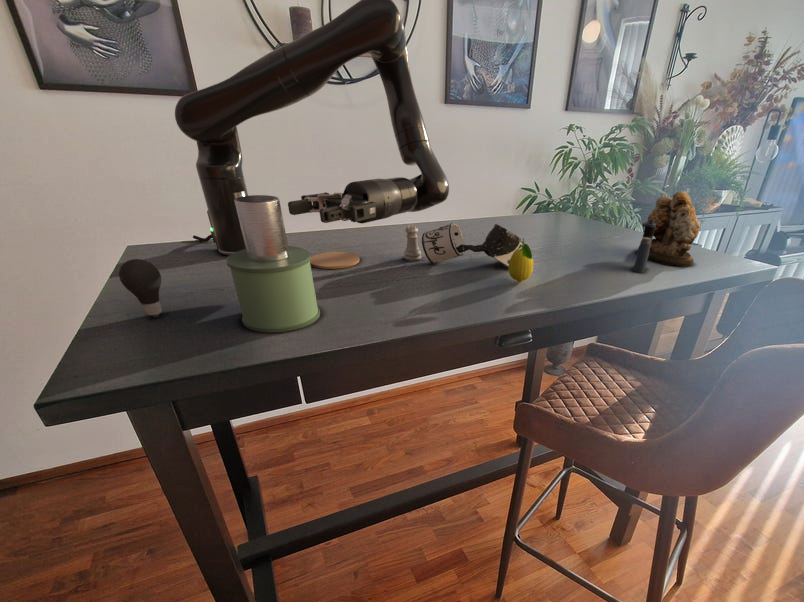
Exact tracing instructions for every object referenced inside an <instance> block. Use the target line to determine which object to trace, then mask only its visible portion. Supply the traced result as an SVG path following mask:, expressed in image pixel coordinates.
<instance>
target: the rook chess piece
mask: <svg viewBox="0 0 804 602" xmlns="http://www.w3.org/2000/svg"><path fill="white" fill-rule="evenodd" d="M404 232H406V236H405V237H406V248H405V250H404V251H403V254H404V255H403V258H404V259H405V260H406V261H409V262H417V261H420V260H421V259H422V251H421V250H420V247H419V244H418V232H419V229H418V226H417V225H416V224H407V225H406V228H405V229H404Z"/></svg>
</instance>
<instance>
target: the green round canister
mask: <svg viewBox="0 0 804 602" xmlns="http://www.w3.org/2000/svg"><path fill="white" fill-rule="evenodd" d="M288 248H289V253H290V256H289V257H288V258H285V259H283V260H279V261H273V262H257V261H252V260H250V259H249V258H248V254H247V250H246V249H244V250H240V251H237V252H235V253H233V254H231V255H229V256H228V255H227V257H226V259H225V263H226V266H227V267H228V268H229V270H230V273H231V276H232V280H233V284H234V288H235V292H236V296H237V299H238V303H239V307H240V310H241V314H242V316H241V321H242V324H243V326H244V327H245V328H247V329H249V330H251V331H254V332H259V333H268V334H269V333H286V332H291V331H295V330H300V329H303V328H306V327H308V326H310V325H312V324H313V323H315V322H316V321H318V320H319V318H320V316H321V309H320V307H319V306H318V302H317V295H316V291H315V286H314V284H315V283H314V278H313V274H312V273H313V272H312V271H313V270H312V266H311V265H310V260H311V256H312V255H311V252H310V251H309V250H308V249H306V248H302V247H298V246H292V245H288Z"/></svg>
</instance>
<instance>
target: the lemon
mask: <svg viewBox="0 0 804 602" xmlns="http://www.w3.org/2000/svg"><path fill="white" fill-rule="evenodd" d="M522 242H523V244H522V245H520V246H519V248H518V249H517V250H516V251H515V252H514V253H513V255H512V256H511V259H510V262H509V267H508V273H509V276H510V278H511V279H513V280H514V281H516V282H517V283H519V284H521V283H522V282H523V281H526V280H528V279H529V278H530V277H531V275H532V274H533V270H534V259H533V254H532V250H531V248H530V246H529V245H528V244H527V243H525V238H524V237H523V238H522ZM524 243H525V244H524ZM523 245H524V246H523ZM521 247H522V248H521ZM520 248H521V249H520ZM519 249H520V250H519Z"/></svg>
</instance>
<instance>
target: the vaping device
mask: <svg viewBox="0 0 804 602" xmlns="http://www.w3.org/2000/svg"><path fill="white" fill-rule="evenodd" d="M655 226H656V224H655V223H654V220H653V219H650V220H649V223H646V225H645V227H644V230H643V234H642V238H641V241H640V243H639V246H638V248H639V249H638V248H637V253H636V258H635V262H634V266H633V272H635V273H641V274H642V273H644V272H645V270H646V266H647V263H648V260H649V259H648V256H649V250H650V246H651V242H652V239H654V236H653V234H654V230H655Z"/></svg>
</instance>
